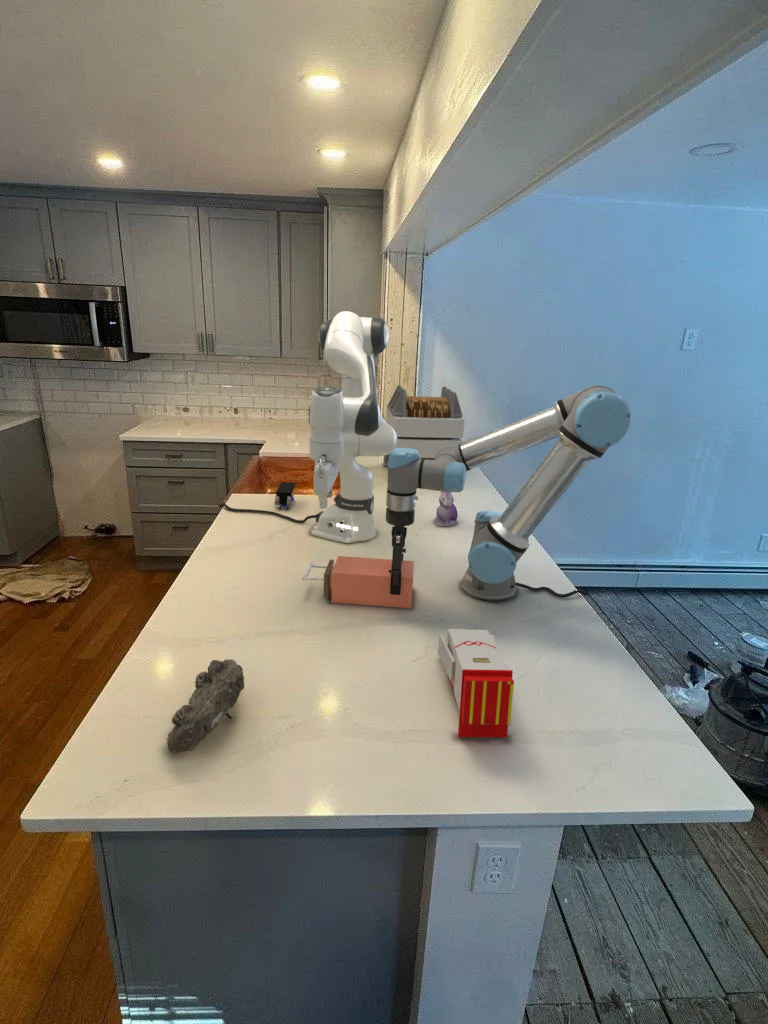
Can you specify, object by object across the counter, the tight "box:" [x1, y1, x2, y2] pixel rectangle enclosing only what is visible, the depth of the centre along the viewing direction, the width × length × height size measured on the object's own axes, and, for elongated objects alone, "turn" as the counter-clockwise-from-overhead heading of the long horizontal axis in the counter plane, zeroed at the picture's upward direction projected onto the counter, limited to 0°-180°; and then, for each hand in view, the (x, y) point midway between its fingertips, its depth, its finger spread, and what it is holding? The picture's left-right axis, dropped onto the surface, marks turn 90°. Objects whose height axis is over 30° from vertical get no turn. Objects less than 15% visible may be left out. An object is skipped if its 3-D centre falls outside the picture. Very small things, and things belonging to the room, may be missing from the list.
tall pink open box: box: [330, 555, 415, 609], centre depth 155 cm, size 21×11×9 cm, turn 86°
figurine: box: [434, 491, 459, 527], centre depth 210 cm, size 9×10×15 cm
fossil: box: [166, 658, 245, 754], centre depth 106 cm, size 22×10×15 cm
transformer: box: [383, 384, 465, 468], centre depth 268 cm, size 34×33×41 cm
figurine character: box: [274, 481, 297, 510], centre depth 222 cm, size 7×8×15 cm
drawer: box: [301, 559, 335, 599], centre depth 155 cm, size 26×10×7 cm, turn 86°
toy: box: [437, 628, 515, 738], centre depth 117 cm, size 12×13×30 cm
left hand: (326, 502), depth 151 cm, fingers open, 8 cm apart
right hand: (396, 584), depth 154 cm, fingers closed on tall pink open box, 11 cm apart
